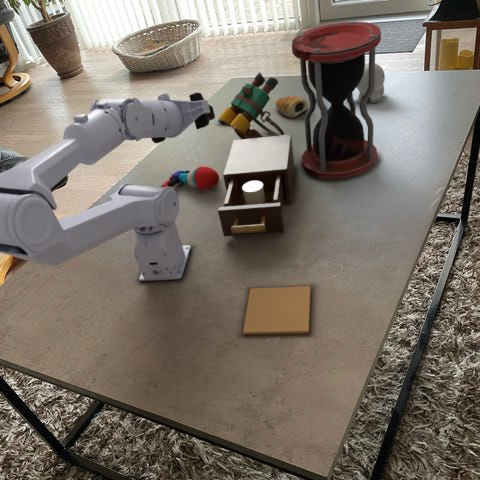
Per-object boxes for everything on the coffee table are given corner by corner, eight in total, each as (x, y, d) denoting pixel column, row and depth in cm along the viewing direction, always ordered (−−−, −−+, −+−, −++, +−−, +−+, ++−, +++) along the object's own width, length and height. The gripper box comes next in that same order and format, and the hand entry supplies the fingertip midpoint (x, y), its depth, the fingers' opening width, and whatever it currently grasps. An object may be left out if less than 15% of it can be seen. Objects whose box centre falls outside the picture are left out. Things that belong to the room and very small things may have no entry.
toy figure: (162, 195, 112) (211, 196, 103) (154, 175, 109) (204, 173, 100) (182, 181, 116) (231, 180, 107) (175, 161, 114) (225, 159, 105)
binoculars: (243, 147, 126) (207, 108, 115) (278, 103, 124) (244, 59, 113) (273, 166, 116) (236, 125, 106) (311, 118, 114) (278, 72, 104)
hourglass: (322, 139, 115) (316, 20, 97) (388, 148, 107) (395, 20, 89) (288, 174, 106) (275, 50, 89) (357, 186, 98) (357, 52, 81)
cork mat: (308, 333, 73) (308, 331, 72) (243, 334, 75) (242, 332, 74) (310, 288, 79) (310, 285, 79) (250, 290, 82) (250, 288, 81)
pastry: (269, 110, 131) (268, 96, 129) (289, 102, 133) (288, 87, 131) (291, 119, 125) (289, 104, 123) (311, 110, 127) (310, 95, 125)
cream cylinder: (265, 214, 93) (262, 191, 90) (245, 215, 94) (240, 192, 91) (267, 202, 96) (264, 179, 92) (247, 204, 97) (243, 181, 93)
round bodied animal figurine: (343, 92, 132) (342, 58, 126) (387, 93, 126) (389, 58, 120) (334, 103, 128) (332, 69, 122) (379, 105, 122) (380, 69, 116)
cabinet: (290, 203, 98) (286, 169, 93) (230, 208, 101) (222, 174, 95) (294, 166, 108) (291, 134, 103) (239, 172, 111) (233, 140, 105)
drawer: (282, 245, 87) (278, 218, 83) (220, 249, 90) (214, 223, 85) (288, 193, 99) (285, 167, 95) (233, 197, 101) (228, 172, 97)
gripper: (182, 78, 76) (222, 83, 87) (113, 107, 83) (158, 108, 94) (195, 125, 77) (232, 124, 89) (126, 149, 84) (168, 145, 96)
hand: (195, 118), depth 91 cm, fingers open, 7 cm apart
